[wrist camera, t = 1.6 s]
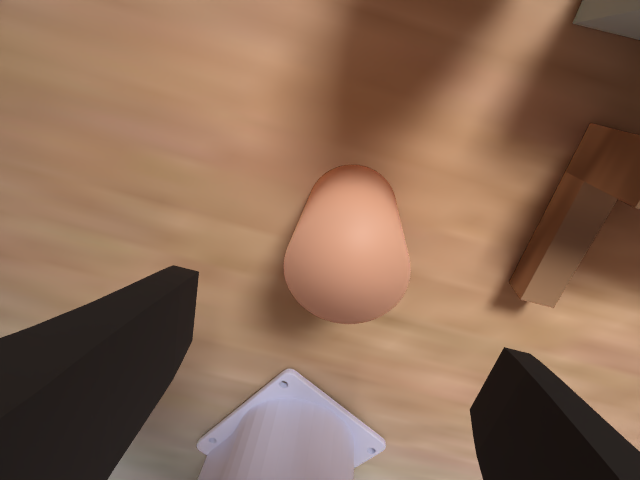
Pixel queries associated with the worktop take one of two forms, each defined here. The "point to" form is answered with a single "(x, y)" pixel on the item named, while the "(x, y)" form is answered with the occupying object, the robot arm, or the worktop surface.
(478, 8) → the worktop surface
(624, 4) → the backstop board
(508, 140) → the worktop surface
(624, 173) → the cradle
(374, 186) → the pink egg shape
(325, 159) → the worktop surface
